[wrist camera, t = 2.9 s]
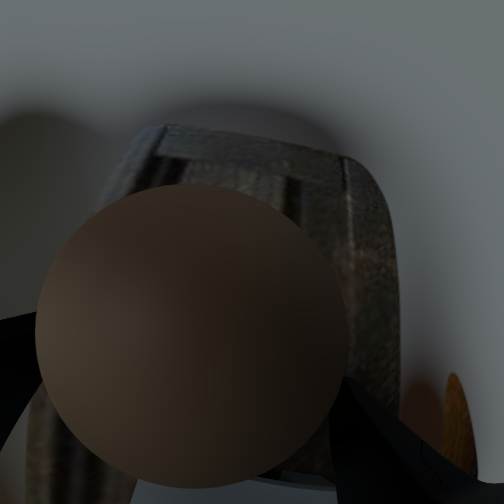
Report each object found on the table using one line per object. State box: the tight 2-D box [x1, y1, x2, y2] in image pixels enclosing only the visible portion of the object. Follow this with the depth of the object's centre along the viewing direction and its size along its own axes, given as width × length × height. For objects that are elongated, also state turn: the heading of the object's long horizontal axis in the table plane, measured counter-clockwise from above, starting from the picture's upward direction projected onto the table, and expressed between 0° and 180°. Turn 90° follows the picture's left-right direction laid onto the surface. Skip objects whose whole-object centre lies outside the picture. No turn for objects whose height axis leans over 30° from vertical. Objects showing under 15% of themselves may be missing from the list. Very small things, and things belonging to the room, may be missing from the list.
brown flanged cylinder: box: [35, 184, 348, 489], centre depth 10 cm, size 6×6×12 cm
